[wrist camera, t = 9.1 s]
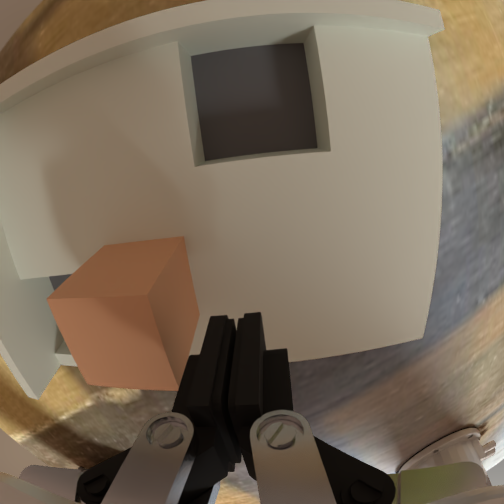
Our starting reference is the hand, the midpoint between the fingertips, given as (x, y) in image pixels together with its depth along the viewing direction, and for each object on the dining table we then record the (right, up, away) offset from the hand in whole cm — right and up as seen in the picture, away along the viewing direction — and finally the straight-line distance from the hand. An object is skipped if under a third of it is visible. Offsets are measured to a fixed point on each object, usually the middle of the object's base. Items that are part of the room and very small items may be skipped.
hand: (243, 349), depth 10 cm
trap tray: (-3, +6, +5) cm, 8 cm away
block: (-4, +2, +4) cm, 6 cm away
